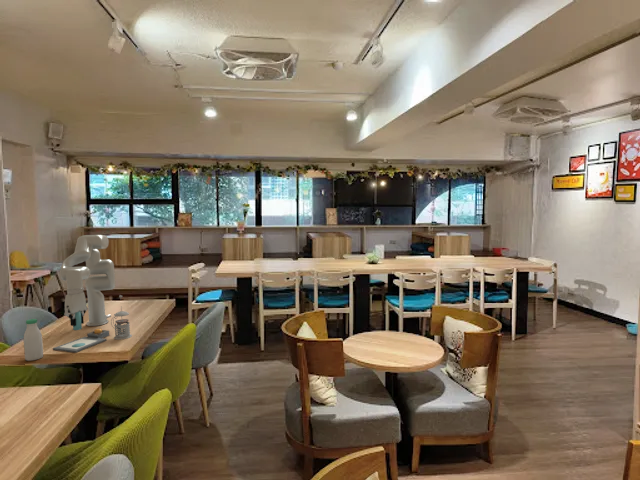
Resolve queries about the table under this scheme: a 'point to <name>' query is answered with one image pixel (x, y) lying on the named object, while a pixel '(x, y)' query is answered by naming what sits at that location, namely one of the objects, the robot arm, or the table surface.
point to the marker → (78, 321)
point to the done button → (97, 331)
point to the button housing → (100, 335)
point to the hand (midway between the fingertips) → (77, 324)
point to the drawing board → (79, 344)
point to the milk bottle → (33, 341)
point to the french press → (121, 326)
